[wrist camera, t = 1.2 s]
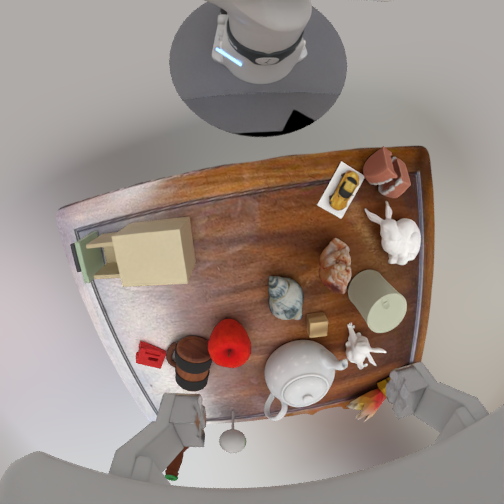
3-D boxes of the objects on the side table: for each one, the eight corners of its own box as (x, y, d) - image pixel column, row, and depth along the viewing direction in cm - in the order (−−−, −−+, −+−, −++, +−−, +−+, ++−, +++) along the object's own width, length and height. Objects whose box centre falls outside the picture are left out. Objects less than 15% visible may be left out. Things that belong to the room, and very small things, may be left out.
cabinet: (139, 266, 56) (122, 286, 47) (130, 222, 53) (111, 236, 43) (196, 262, 56) (188, 283, 47) (189, 216, 53) (179, 229, 44)
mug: (155, 340, 57) (156, 374, 61) (200, 366, 53) (195, 399, 57) (179, 323, 64) (176, 356, 68) (221, 346, 60) (214, 378, 64)
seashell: (271, 312, 62) (273, 263, 58) (304, 318, 60) (308, 268, 55) (262, 327, 57) (262, 276, 53) (296, 335, 54) (301, 282, 50)
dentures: (359, 187, 47) (388, 211, 49) (386, 164, 41) (415, 190, 43) (358, 162, 52) (385, 184, 54) (381, 140, 47) (408, 165, 48)
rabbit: (401, 272, 48) (392, 213, 44) (367, 262, 56) (356, 209, 52) (431, 246, 51) (424, 193, 47) (399, 240, 60) (391, 191, 56)
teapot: (257, 338, 63) (261, 379, 50) (334, 329, 63) (352, 366, 50) (262, 390, 69) (265, 429, 56) (328, 382, 69) (340, 418, 56)
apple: (258, 327, 62) (261, 359, 51) (229, 347, 63) (228, 379, 53) (231, 302, 59) (229, 332, 49) (202, 324, 61) (196, 355, 51)
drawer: (87, 269, 55) (70, 283, 47) (78, 233, 52) (59, 244, 44) (147, 265, 55) (134, 281, 47) (139, 225, 52) (125, 236, 45)
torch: (407, 351, 69) (342, 405, 70) (423, 368, 62) (355, 424, 63) (409, 359, 73) (349, 409, 74) (424, 375, 67) (361, 427, 68)
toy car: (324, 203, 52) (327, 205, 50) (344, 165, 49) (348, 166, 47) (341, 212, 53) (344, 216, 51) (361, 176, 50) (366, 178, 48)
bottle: (199, 412, 72) (191, 482, 48) (180, 417, 73) (170, 484, 49) (184, 399, 70) (172, 472, 46) (165, 404, 71) (150, 473, 47)
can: (377, 262, 57) (403, 285, 46) (387, 293, 60) (411, 319, 49) (342, 281, 59) (362, 309, 47) (354, 312, 61) (374, 342, 50)
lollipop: (244, 417, 73) (245, 457, 59) (220, 416, 73) (218, 456, 59) (245, 404, 71) (247, 446, 57) (220, 402, 70) (218, 444, 56)
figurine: (346, 242, 56) (377, 271, 42) (324, 271, 58) (348, 307, 44) (324, 226, 54) (351, 251, 40) (302, 257, 56) (321, 290, 42)
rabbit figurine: (347, 322, 63) (361, 346, 53) (374, 318, 63) (391, 340, 54) (341, 359, 67) (352, 384, 57) (367, 354, 67) (380, 378, 58)
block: (306, 313, 61) (310, 323, 57) (323, 311, 61) (328, 321, 57) (306, 328, 62) (309, 338, 59) (322, 326, 62) (326, 335, 59)
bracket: (140, 348, 59) (140, 341, 62) (136, 363, 59) (135, 355, 62) (166, 354, 62) (164, 347, 64) (160, 368, 62) (159, 361, 65)
